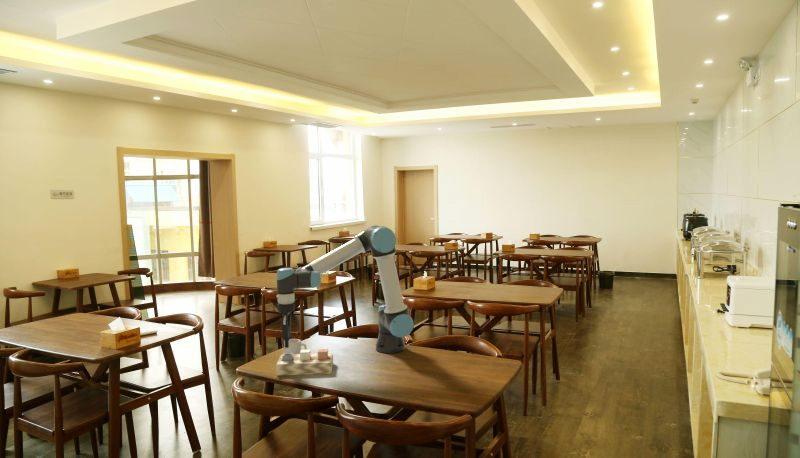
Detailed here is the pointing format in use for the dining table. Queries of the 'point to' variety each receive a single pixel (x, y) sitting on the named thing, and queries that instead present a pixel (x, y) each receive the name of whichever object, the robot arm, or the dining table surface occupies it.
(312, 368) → the console
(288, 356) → the key slate
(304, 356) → the key cream
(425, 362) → the dining table surface
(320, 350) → the key terracotta
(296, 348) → the cup
